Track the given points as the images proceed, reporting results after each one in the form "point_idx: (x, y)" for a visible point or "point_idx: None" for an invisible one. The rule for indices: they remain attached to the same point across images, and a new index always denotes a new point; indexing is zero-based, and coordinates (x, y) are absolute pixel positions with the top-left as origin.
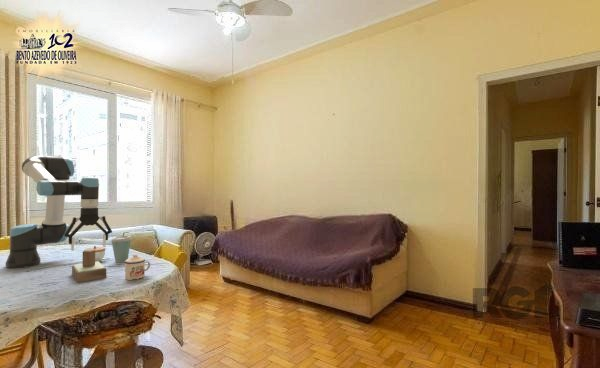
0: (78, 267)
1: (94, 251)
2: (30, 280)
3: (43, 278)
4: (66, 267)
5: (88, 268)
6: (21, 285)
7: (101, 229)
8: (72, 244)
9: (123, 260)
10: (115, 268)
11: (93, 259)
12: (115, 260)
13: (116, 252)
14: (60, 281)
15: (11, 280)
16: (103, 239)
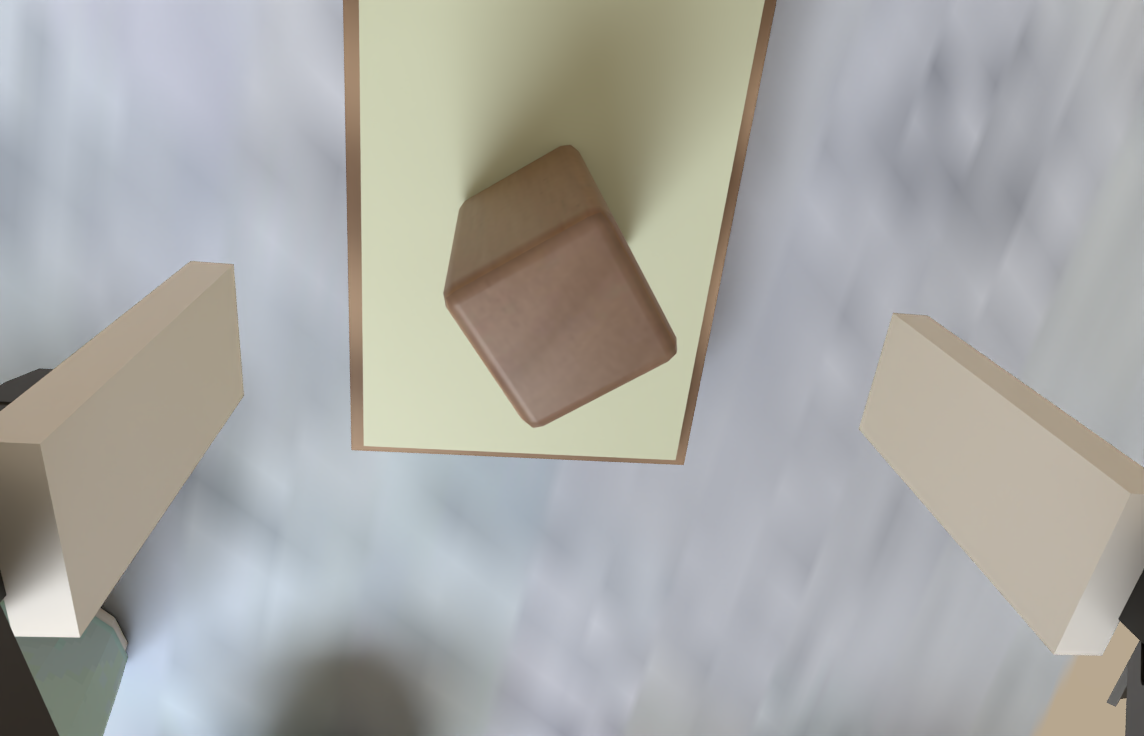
0: (681, 243)
1: (462, 270)
2: None
3: None
4: (612, 716)
5: (596, 41)
6: (1134, 307)
7: (4, 673)
8: (1010, 379)
9: None
10: None
11: (486, 213)
12: (122, 654)
13: (53, 719)
14: (852, 165)
15: None
16: (157, 438)
